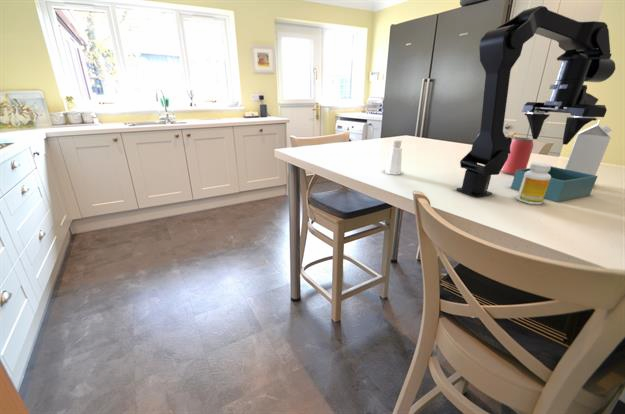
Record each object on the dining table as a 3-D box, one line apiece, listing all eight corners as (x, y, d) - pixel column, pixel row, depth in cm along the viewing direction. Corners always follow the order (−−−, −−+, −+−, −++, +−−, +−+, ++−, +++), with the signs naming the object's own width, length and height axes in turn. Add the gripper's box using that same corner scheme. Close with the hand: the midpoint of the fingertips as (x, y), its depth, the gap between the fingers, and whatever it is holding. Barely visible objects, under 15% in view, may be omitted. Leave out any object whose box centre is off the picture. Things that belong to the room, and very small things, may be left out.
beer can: (524, 177, 95) (536, 140, 90) (501, 173, 98) (511, 138, 94) (523, 172, 100) (534, 138, 96) (501, 170, 103) (511, 136, 99)
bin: (557, 202, 73) (564, 181, 71) (510, 188, 83) (516, 169, 81) (589, 195, 79) (597, 176, 77) (542, 182, 89) (548, 165, 87)
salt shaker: (398, 170, 100) (402, 139, 95) (403, 174, 95) (408, 141, 90) (383, 170, 99) (386, 138, 95) (387, 174, 94) (391, 141, 90)
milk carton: (559, 183, 89) (582, 120, 82) (561, 178, 94) (583, 119, 86) (590, 188, 84) (617, 122, 77) (590, 183, 89) (615, 120, 82)
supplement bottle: (546, 205, 70) (560, 167, 67) (522, 203, 71) (534, 166, 68) (535, 198, 75) (547, 162, 72) (512, 196, 76) (523, 161, 72)
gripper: (638, 80, 66) (610, 147, 72) (562, 83, 83) (544, 137, 89) (598, 78, 64) (572, 147, 70) (529, 81, 81) (512, 136, 87)
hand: (549, 141), depth 79 cm, fingers open, 9 cm apart
